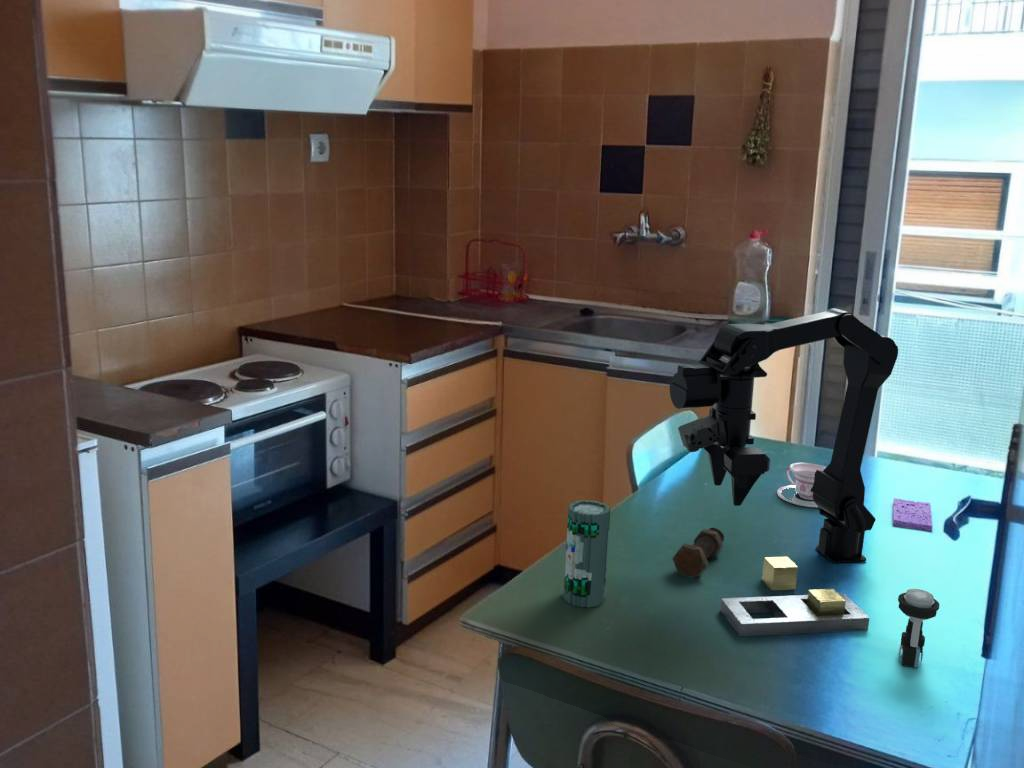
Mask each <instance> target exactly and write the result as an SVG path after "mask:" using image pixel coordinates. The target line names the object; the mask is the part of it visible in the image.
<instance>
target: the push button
mask: <svg viewBox="0 0 1024 768" xmlns="http://www.w3.org/2000/svg"><path fill="white" fill-rule="evenodd" d="M897 601H898V609H899V610H900V611H901V612H902V613H903V614H904V615H905V616H907V617H908V621H907V625H906V627H905V631H903V632H901V638H900V645H899V650H898V658H899V659H900V658H901V666H904V667H910V668H916V669H918V668H919V662H923V658H924V651H923V650H924V648H923V647H925V642H926V636H924V635H923V628H924V627H923V626H924V621H926V620H929V619H932V618H935V617H937V612H938V611H939V609H940V606H941V605H940V602H939V601H938V600H936V599H935V598H934V595H933V594H932V593H931V592H929V591H927V590H923V589H919V588H909V589H907V590H906V591H905V592H902V593H901V594H899V595H898V597H897ZM901 651H902V652H901ZM901 653H902V656H901Z"/></svg>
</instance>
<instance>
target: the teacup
mask: <svg viewBox="0 0 1024 768" xmlns="http://www.w3.org/2000/svg"><path fill="white" fill-rule="evenodd" d="M826 467H827V466H825V465H823V464H818V463H810V462H794V463H791V464H790V466H789V467H785V469H786V477H787V479H788V482H789V483H790V485H785V486H781V487H779V488H778V489H777V491H776V494H777V497H778V498H780V499H781V500H783V501H785V502H787V503H789V504H793V505H796V506H801V507H806V508H818V506H817V505H816V503H815V502H814V501H813V492H811V491H810V490H811V488H812V486H813V484H814V477H815V472H816V470H820V471H823V470H824V469H825V468H826ZM790 472H792V474H793V475H794V479H795V482H794V481H793V480H792V478H791V476H790ZM786 488H787V489H789V488H795V491H796V495H797V493H798V495H799V498H798V497H797V496H796V495H795V494H794V496H793V498H794V499H793V498H792V501H791V500H788V499H786V498H785V497H784V496H783V495H782V494H781V493H782V490H784V489H786ZM790 499H791V498H790Z"/></svg>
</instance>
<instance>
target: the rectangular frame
mask: <svg viewBox="0 0 1024 768" xmlns="http://www.w3.org/2000/svg"><path fill="white" fill-rule="evenodd" d="M838 594H839V595H840V596H841V597H842V598H843V599H844V600H845V601H846V603H845V610H844V615H831V616H816V615H815V614H814V613H813V612H812V611H811V610H810V609H809V607H808V606H807V599H808V594H800V595H799V594H798V595H796V594H795V595H779V596H778V595H775V596H753V597H752V596H750V597H728V598H727V597H726V598H721V601H720V610H719V611H720V612H721V613H722V615H723V616H724V617H725V619H727V621H728V622H729V625H731V626H732V627H733V629H734V630H735V631H736V633H737V635H738V636H739V637H755V636H757V637H758V636H759V637H760V636H775V635H778V636H779V635H796V634H798V635H799V634H817V633H832V632H833V633H839V632H853V631H856V632H857V631H868V630H869V625H870V617H869V616H868V615H867V614H866V613H865V612H864V611H863V610H862V609H861V608H860V607H858V605H857V604H855V602H853V600H851V599H850V598H849V597H848V596H847V595H846V594H845V593H838ZM758 613H771V614H773V616H774V617H770V618H769V617H768V618H753V617H752V616H751V615H750V614H758Z"/></svg>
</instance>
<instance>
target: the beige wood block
mask: <svg viewBox="0 0 1024 768" xmlns="http://www.w3.org/2000/svg"><path fill="white" fill-rule="evenodd" d="M763 558H764V560H763V565H762V575H761V580H762V582H764V583H765V584H766V586H767V587H768V588H769V589H770V590H771V591H786V590H787V591H788V590H790V591H792V590H796V586H797V577H798V570H799V569H798V568H799V567H798V566H797V565H796V563H795V562H794V561H793V560H791V558H789V557H788V556H771V557H770V556H769V557H768V556H766V557H763Z"/></svg>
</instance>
